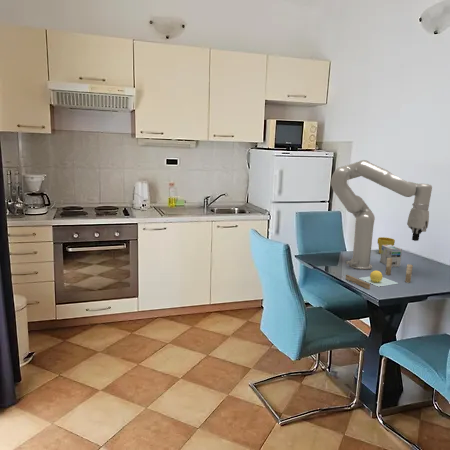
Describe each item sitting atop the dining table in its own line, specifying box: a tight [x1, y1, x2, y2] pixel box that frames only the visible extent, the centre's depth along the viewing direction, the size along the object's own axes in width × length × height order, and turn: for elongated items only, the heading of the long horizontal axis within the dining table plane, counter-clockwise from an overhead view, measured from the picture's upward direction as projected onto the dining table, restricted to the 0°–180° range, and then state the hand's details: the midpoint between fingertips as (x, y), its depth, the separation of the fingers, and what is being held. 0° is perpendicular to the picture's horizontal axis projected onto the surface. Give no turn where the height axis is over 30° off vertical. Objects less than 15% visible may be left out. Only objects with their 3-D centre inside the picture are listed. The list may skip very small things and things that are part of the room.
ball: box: [369, 270, 383, 282], centre depth 211 cm, size 6×6×6 cm
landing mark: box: [358, 275, 399, 288], centre depth 214 cm, size 14×14×1 cm
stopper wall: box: [345, 274, 371, 290], centre depth 207 cm, size 1×16×2 cm, turn 26°
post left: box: [384, 258, 392, 276], centre depth 225 cm, size 3×3×9 cm
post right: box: [404, 263, 413, 284], centre depth 213 cm, size 3×3×9 cm
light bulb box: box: [379, 245, 403, 268], centre depth 245 cm, size 11×7×11 cm, turn 13°
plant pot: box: [377, 236, 396, 255], centre depth 270 cm, size 10×10×10 cm
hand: (415, 240), depth 225 cm, fingers closed
